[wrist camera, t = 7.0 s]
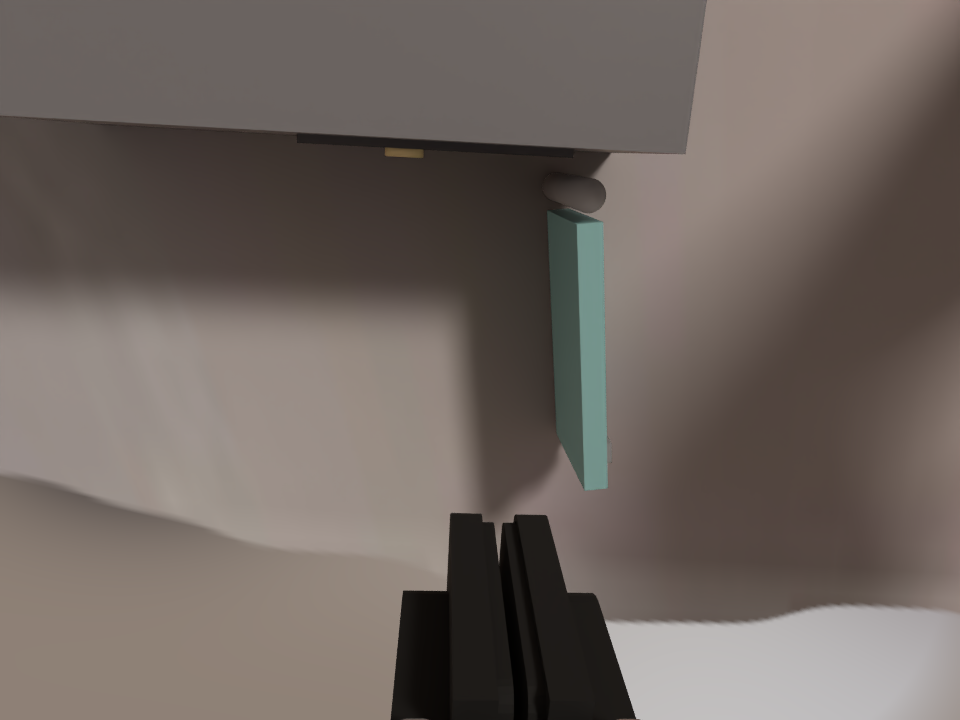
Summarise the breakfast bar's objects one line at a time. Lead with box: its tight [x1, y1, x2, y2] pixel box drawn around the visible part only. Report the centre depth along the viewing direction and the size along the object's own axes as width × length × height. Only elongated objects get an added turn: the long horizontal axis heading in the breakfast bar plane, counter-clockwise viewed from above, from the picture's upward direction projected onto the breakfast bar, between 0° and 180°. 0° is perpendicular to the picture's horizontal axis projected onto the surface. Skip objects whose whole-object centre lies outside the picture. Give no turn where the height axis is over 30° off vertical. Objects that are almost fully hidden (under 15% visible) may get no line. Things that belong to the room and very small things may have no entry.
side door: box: [542, 173, 612, 491], centre depth 23 cm, size 10×2×5 cm, turn 4°
